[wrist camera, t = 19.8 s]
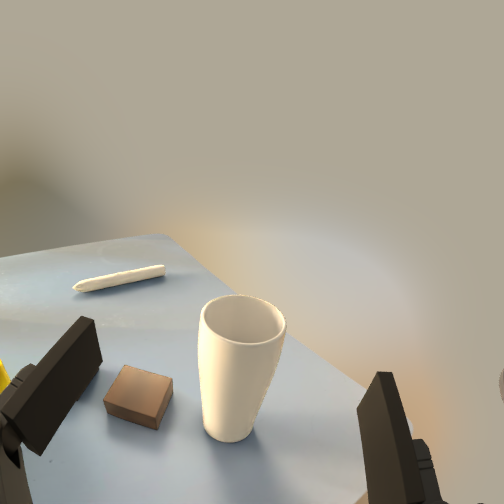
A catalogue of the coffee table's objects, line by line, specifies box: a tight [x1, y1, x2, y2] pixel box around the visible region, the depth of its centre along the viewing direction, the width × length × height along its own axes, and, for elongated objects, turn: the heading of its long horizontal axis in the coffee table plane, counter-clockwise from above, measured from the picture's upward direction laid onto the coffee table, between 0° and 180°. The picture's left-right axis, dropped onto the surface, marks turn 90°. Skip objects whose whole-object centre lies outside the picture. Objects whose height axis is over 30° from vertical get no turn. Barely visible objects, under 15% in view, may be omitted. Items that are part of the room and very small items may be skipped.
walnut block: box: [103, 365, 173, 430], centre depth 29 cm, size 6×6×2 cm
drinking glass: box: [198, 295, 286, 443], centre depth 26 cm, size 7×7×15 cm
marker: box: [73, 265, 166, 292], centre depth 51 cm, size 18×2×2 cm, turn 130°
